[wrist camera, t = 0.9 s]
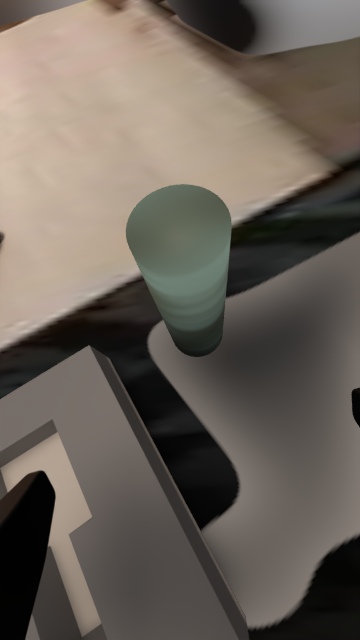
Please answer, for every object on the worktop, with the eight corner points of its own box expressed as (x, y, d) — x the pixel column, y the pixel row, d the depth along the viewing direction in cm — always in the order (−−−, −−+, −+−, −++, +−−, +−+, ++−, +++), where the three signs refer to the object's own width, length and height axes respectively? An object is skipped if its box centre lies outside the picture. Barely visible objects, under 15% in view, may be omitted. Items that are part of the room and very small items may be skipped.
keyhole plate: (245, 616, 17) (254, 670, 13) (27, 780, 15) (-33, 892, 12) (109, 358, 23) (89, 345, 19) (-54, 459, 22) (-109, 465, 18)
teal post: (232, 339, 23) (253, 234, 10) (189, 366, 22) (158, 292, 10) (204, 300, 24) (193, 169, 12) (163, 325, 24) (108, 216, 11)
